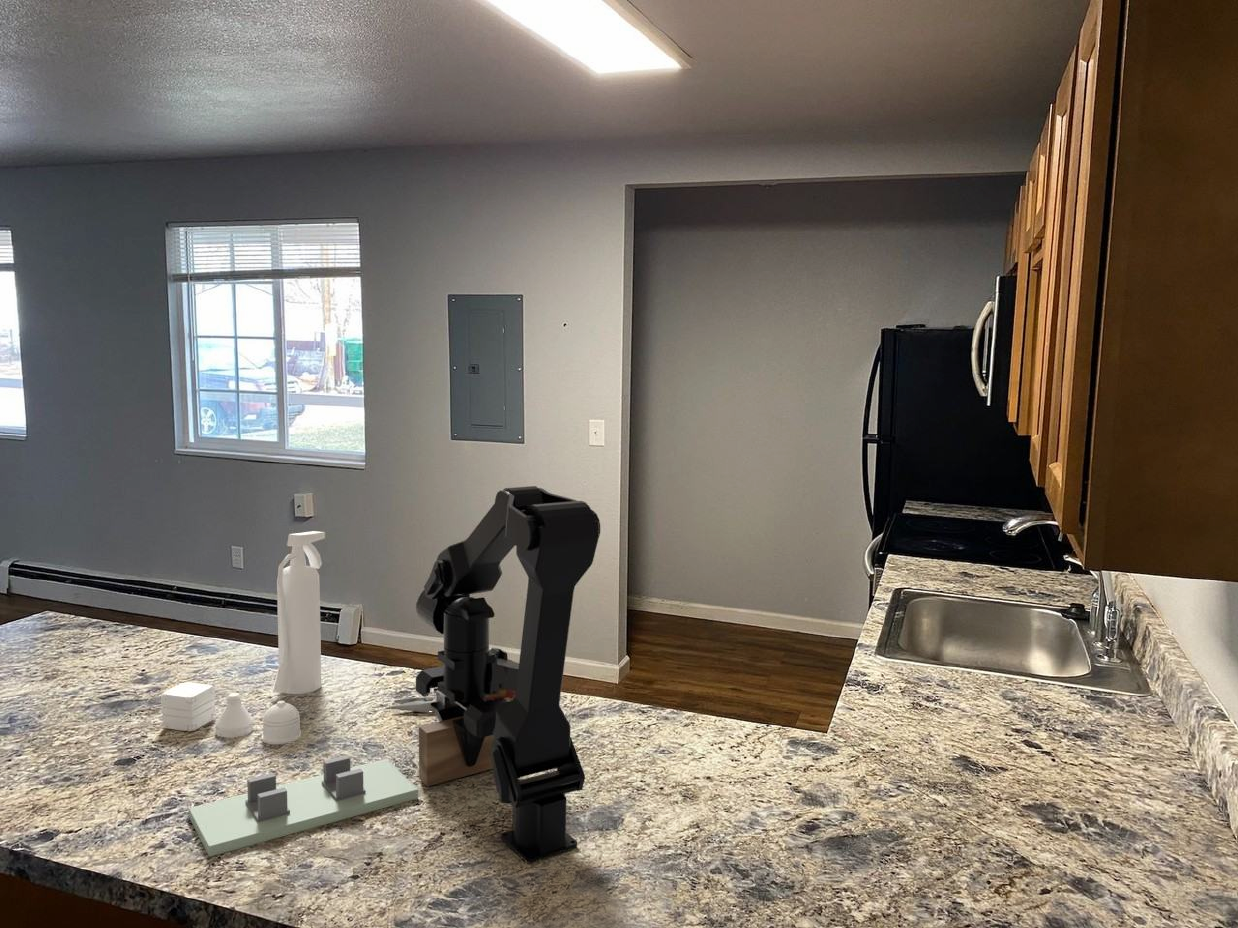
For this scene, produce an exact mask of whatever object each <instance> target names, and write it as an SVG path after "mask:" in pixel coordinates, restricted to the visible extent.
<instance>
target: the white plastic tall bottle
mask: <svg viewBox="0 0 1238 928" xmlns="http://www.w3.org/2000/svg"><path fill="white" fill-rule="evenodd" d="M325 538H326V532H324V531H318V530H317V531H316V530H312V531H305V532H304V531H303V532H298V533H296V532H295V533H289V534H288V537H287V544H286V546H287V547H291V553H289V554H287V555H286V556H285V557H284V559H283V560H282V561H281V563H280V564H279V565H278V569H277V570H278V571H277V579H276V593H277V594H276V595H277V596H276V597H277V601H276V602H277V607H276V608H277V637H278V638H277V640H278V641H277V642H278V645H277V646H278V648H277V649H278V669H277V672H276V676H275V680H274V683H273V687H272V689H271V691H272V692H273V693H278V694H279V693H281V694H283V693H284V694H287V695H304V694H309V693H313V692H316V691H317V690H319V689H321V688H322V652H321V651H322V650H321V649H322V647H321V645H322V643H321V641H322V638H321V637H322V636H321V603H320V602H321V596H320V595H321V594H320V592H321V590H320V588H321V587H320V586H321V585H320V574H319V572H318V570H319V569H320V568H321V567H322V565H323V562H322V557H321V554H320V553H319V551H318V549H317V548H316V547H315V546H314V545H313V544H312V543H315V542H319V541H322V540H324V539H325ZM306 556H307V558H308V562H309V565H307V560H306ZM289 561H290V562H289ZM288 562H289V565H288V566H287V567H285V565H286V564H288Z"/></svg>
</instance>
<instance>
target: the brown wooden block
mask: <svg viewBox="0 0 1238 928" xmlns="http://www.w3.org/2000/svg"><path fill="white" fill-rule="evenodd" d="M460 718H464V716H461V717H457V718H453V719H449V720H444V721H440V722H439V721H436V722H433V723H428V724H424V725H419V726H418V780H419V781H420V782H421V783H423V784H424V785H425V786H426V787H429V786H433V785H437V784H441V783H444V782H448V781H452V780H455V779H460V778H463V777H467V776H471V775H473V774H477V773H480V772H486V771H489V770H493V764H492V757H491V747H492V742H493V740H494V737H495V736H494V735H491V736H487V737H485V739H484V741H483V744H482V747H481V750H480V753H479V756H478V759H477V761H476V764H475V765H474V766H471V767H468V766H467V765H466V763H465V760H464V757H463V755H462V752H461V748H460V745H459V742H458V739H457V736H456V733H455V730H454V727H453V724H452V720H456V719H460Z"/></svg>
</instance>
